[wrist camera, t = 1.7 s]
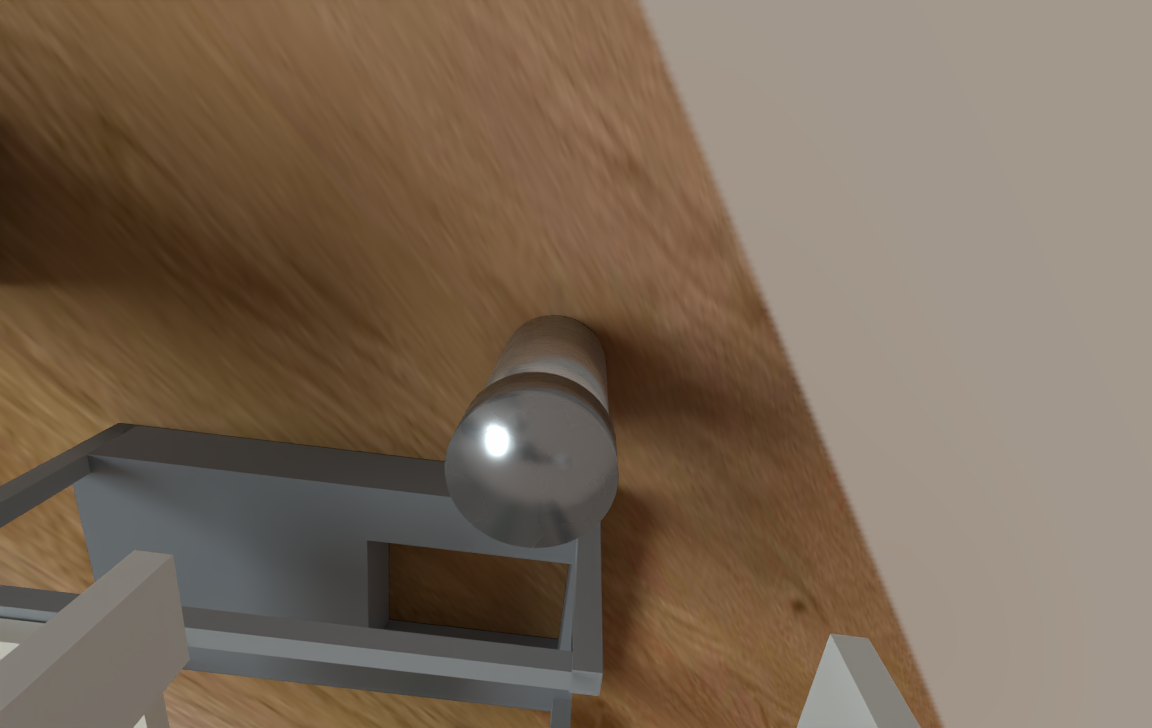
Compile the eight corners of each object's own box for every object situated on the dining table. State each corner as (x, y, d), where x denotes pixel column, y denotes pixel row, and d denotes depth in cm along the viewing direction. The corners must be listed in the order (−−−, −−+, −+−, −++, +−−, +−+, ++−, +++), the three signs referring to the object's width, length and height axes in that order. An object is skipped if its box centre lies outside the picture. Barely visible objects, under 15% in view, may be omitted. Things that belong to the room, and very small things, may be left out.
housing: (118, 423, 28) (-180, 582, 17) (599, 480, 28) (603, 673, 18) (155, 618, 33) (-64, 842, 22) (571, 666, 33) (560, 912, 22)
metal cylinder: (502, 304, 25) (447, 385, 16) (618, 318, 25) (630, 407, 16) (495, 409, 27) (441, 537, 18) (602, 422, 27) (605, 557, 18)
